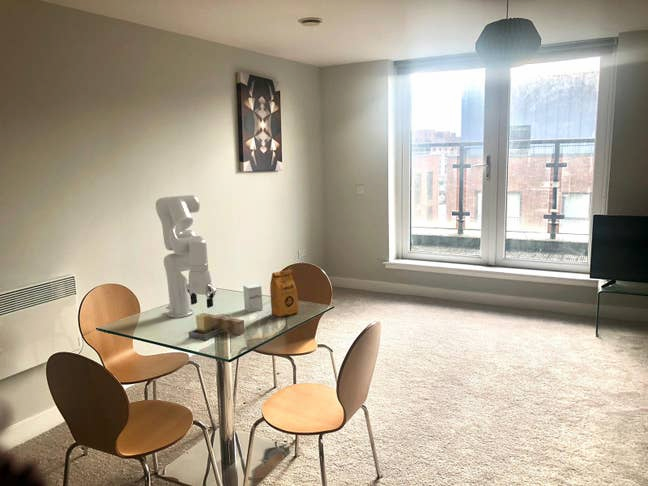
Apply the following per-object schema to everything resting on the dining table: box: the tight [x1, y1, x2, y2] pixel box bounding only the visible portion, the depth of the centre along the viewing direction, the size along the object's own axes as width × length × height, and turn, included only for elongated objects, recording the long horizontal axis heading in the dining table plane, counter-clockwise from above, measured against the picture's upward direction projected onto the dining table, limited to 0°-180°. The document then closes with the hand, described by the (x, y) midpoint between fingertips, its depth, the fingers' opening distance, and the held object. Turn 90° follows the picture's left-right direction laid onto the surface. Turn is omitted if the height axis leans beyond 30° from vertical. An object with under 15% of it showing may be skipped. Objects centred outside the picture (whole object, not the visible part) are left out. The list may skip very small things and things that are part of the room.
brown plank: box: [211, 314, 246, 336], centre depth 240 cm, size 24×3×6 cm, turn 58°
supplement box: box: [243, 283, 264, 313], centre depth 271 cm, size 7×7×13 cm
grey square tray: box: [187, 327, 222, 342], centre depth 234 cm, size 10×10×2 cm
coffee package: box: [269, 269, 299, 317], centre depth 259 cm, size 10×12×22 cm
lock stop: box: [195, 312, 212, 334], centre depth 234 cm, size 4×4×9 cm
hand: (202, 305), depth 233 cm, fingers open, 9 cm apart
